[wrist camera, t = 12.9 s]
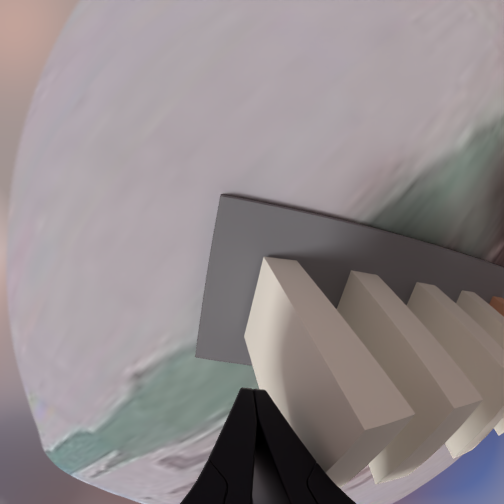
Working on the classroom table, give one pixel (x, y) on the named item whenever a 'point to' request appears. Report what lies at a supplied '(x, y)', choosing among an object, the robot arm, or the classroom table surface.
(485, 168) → the classroom table surface
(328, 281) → the mat
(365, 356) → the domino
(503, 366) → the domino
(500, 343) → the domino
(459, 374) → the domino
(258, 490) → the robot arm
